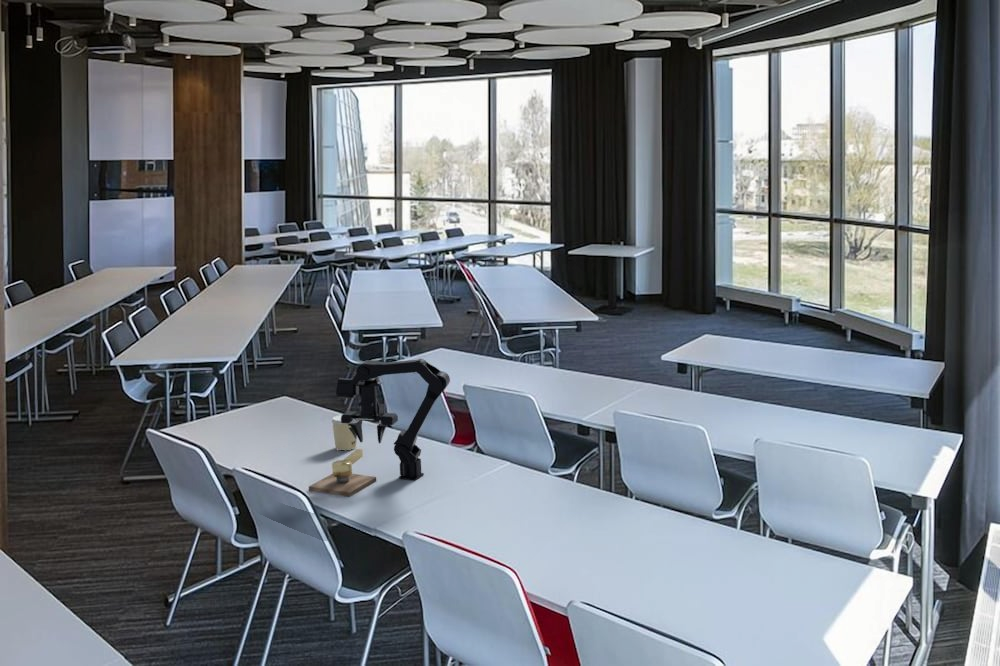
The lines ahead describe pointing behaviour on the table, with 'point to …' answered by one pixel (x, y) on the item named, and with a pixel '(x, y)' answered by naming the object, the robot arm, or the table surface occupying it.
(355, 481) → the base
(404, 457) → the robot arm
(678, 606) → the table surface
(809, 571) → the table surface
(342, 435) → the coffee cup
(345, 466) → the beige elongated piece
